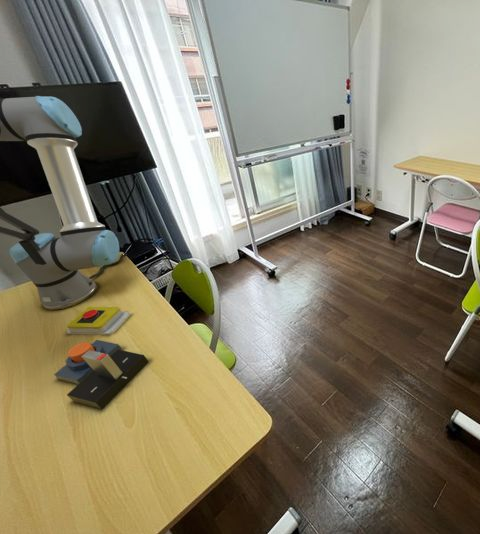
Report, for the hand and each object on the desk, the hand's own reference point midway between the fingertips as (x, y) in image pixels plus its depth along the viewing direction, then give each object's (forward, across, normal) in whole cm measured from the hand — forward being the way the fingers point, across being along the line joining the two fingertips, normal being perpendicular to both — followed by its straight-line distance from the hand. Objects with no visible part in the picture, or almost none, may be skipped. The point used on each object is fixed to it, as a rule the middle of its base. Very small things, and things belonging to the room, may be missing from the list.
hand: (10, 279), depth 70 cm
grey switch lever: (+24, -5, -21) cm, 32 cm away
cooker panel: (+27, -5, -20) cm, 33 cm away
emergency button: (+27, +11, +4) cm, 29 cm away
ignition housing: (+27, -2, -8) cm, 28 cm away
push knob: (+23, -2, -9) cm, 25 cm away
